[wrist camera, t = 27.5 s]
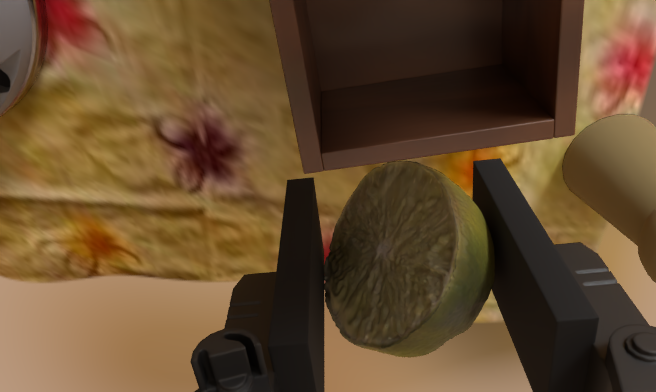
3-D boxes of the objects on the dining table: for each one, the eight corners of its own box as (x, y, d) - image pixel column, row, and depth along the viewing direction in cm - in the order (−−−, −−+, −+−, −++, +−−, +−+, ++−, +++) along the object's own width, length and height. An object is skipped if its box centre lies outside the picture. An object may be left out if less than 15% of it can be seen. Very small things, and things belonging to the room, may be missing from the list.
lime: (324, 277, 18) (323, 402, 14) (319, 139, 16) (316, 238, 11) (462, 273, 18) (506, 398, 14) (477, 135, 16) (536, 233, 11)
